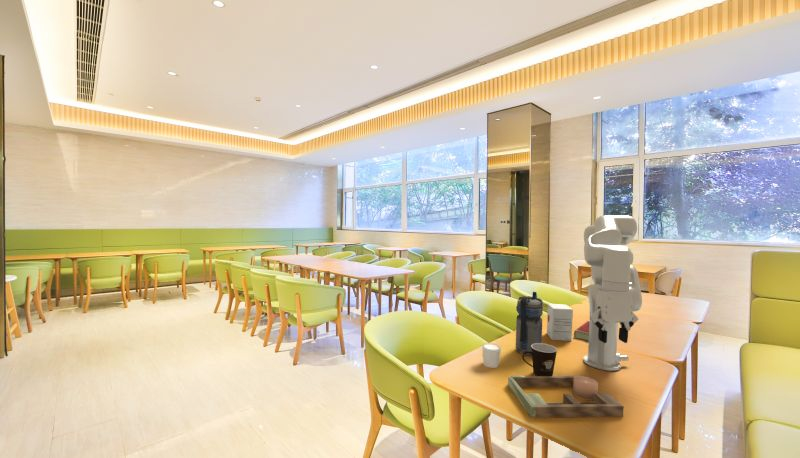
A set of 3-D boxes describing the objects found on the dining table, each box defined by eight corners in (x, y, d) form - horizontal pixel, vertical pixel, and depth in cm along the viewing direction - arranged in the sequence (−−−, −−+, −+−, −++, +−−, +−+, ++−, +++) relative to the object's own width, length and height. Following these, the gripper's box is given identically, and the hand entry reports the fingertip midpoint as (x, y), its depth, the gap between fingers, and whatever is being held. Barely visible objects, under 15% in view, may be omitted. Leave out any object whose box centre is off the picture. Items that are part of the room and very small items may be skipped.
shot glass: (500, 369, 128) (501, 351, 128) (482, 367, 129) (482, 349, 129) (499, 361, 135) (500, 344, 134) (481, 359, 136) (482, 342, 136)
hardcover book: (573, 338, 163) (574, 329, 163) (586, 328, 179) (587, 320, 178) (602, 345, 155) (602, 336, 155) (613, 333, 170) (613, 325, 170)
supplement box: (546, 333, 168) (547, 303, 167) (565, 334, 167) (566, 304, 166) (551, 340, 159) (552, 308, 158) (572, 341, 158) (573, 309, 157)
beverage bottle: (508, 353, 143) (510, 294, 141) (522, 345, 152) (524, 289, 151) (532, 361, 136) (535, 298, 134) (545, 351, 145) (547, 293, 144)
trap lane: (585, 384, 118) (586, 375, 117) (623, 416, 99) (623, 405, 99) (507, 385, 116) (508, 375, 116) (531, 417, 98) (531, 406, 98)
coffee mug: (554, 371, 127) (555, 345, 126) (557, 382, 119) (558, 354, 118) (521, 366, 131) (522, 340, 130) (521, 376, 123) (522, 349, 122)
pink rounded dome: (589, 388, 115) (589, 375, 115) (602, 400, 108) (603, 386, 108) (568, 388, 115) (569, 375, 114) (580, 400, 108) (581, 386, 107)
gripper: (632, 284, 114) (630, 337, 115) (582, 283, 113) (580, 337, 114) (650, 289, 107) (647, 345, 107) (596, 288, 106) (593, 346, 107)
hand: (612, 340), depth 111 cm, fingers open, 6 cm apart
